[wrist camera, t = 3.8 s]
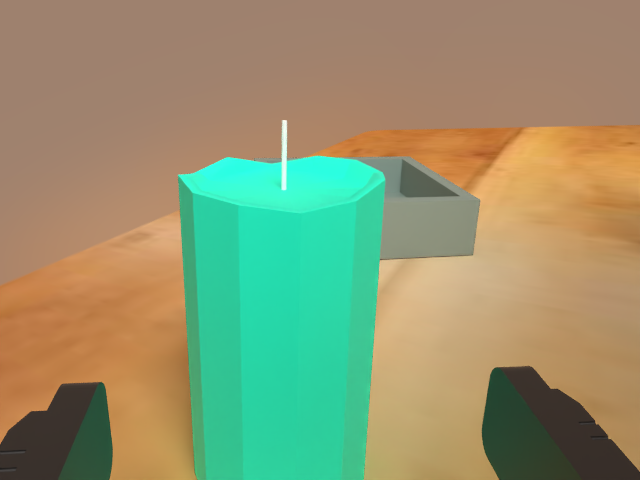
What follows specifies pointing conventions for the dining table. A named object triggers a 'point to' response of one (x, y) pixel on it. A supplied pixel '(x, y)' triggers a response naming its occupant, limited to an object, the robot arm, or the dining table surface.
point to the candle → (281, 314)
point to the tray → (420, 210)
